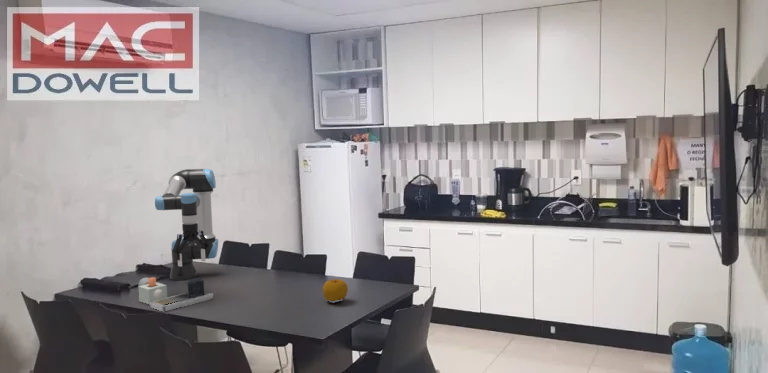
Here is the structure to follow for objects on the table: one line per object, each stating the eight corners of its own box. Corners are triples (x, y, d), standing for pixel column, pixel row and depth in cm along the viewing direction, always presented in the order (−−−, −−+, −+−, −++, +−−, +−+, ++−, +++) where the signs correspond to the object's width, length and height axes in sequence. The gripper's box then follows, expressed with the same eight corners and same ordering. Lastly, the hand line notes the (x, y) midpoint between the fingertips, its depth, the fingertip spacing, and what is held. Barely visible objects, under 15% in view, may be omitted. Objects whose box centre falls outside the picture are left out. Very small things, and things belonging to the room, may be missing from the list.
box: (203, 296, 307) (202, 277, 305) (204, 299, 301) (203, 280, 300) (187, 299, 303) (186, 279, 302) (189, 302, 298) (188, 281, 297)
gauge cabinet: (157, 296, 308) (156, 282, 307) (167, 300, 301) (166, 285, 300) (139, 301, 300) (138, 286, 299) (149, 305, 294) (148, 289, 293)
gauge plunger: (154, 290, 303) (153, 276, 302) (157, 291, 301) (157, 278, 300) (147, 291, 300) (146, 278, 299) (151, 292, 298) (150, 279, 297)
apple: (351, 299, 298) (351, 277, 297) (341, 307, 286) (341, 284, 285) (329, 297, 302) (328, 276, 301) (318, 304, 290) (317, 282, 289)
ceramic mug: (143, 295, 311) (142, 281, 310) (138, 292, 317) (137, 278, 316) (163, 291, 318) (162, 278, 317) (157, 288, 324) (157, 275, 323)
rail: (199, 294, 311) (199, 289, 311) (213, 298, 303) (212, 293, 303) (150, 307, 289) (150, 301, 289) (163, 312, 281) (163, 306, 281)
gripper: (206, 219, 310) (208, 258, 312) (163, 225, 291) (165, 267, 293) (215, 220, 305) (216, 260, 307) (171, 227, 286) (173, 269, 288)
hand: (191, 263), depth 300 cm, fingers open, 13 cm apart
